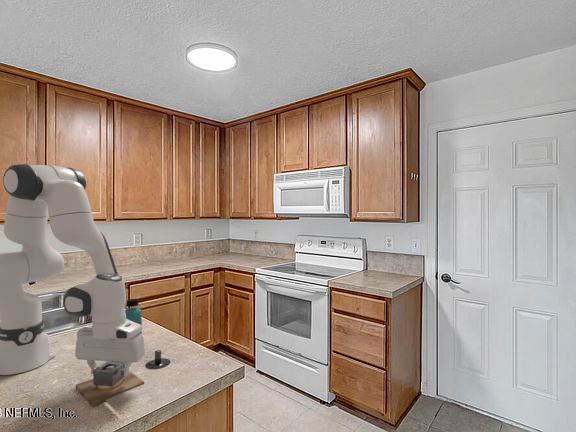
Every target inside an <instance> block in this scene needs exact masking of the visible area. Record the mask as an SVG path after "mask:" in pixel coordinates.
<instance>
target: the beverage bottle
mask: <svg viewBox="0 0 576 432" xmlns="http://www.w3.org/2000/svg"><path fill="white" fill-rule="evenodd" d="M137 306H139V299H138V298H130V299H126V304H125V307H127V308H125V313H126V319H128V320H130V321H133V322H135V323H138V324H140V325H143V321H142V320H143V318H142V309H141V308H140V307H137ZM140 333H141V334H142V335H143V330H142V331H141V332H140Z"/></svg>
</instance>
